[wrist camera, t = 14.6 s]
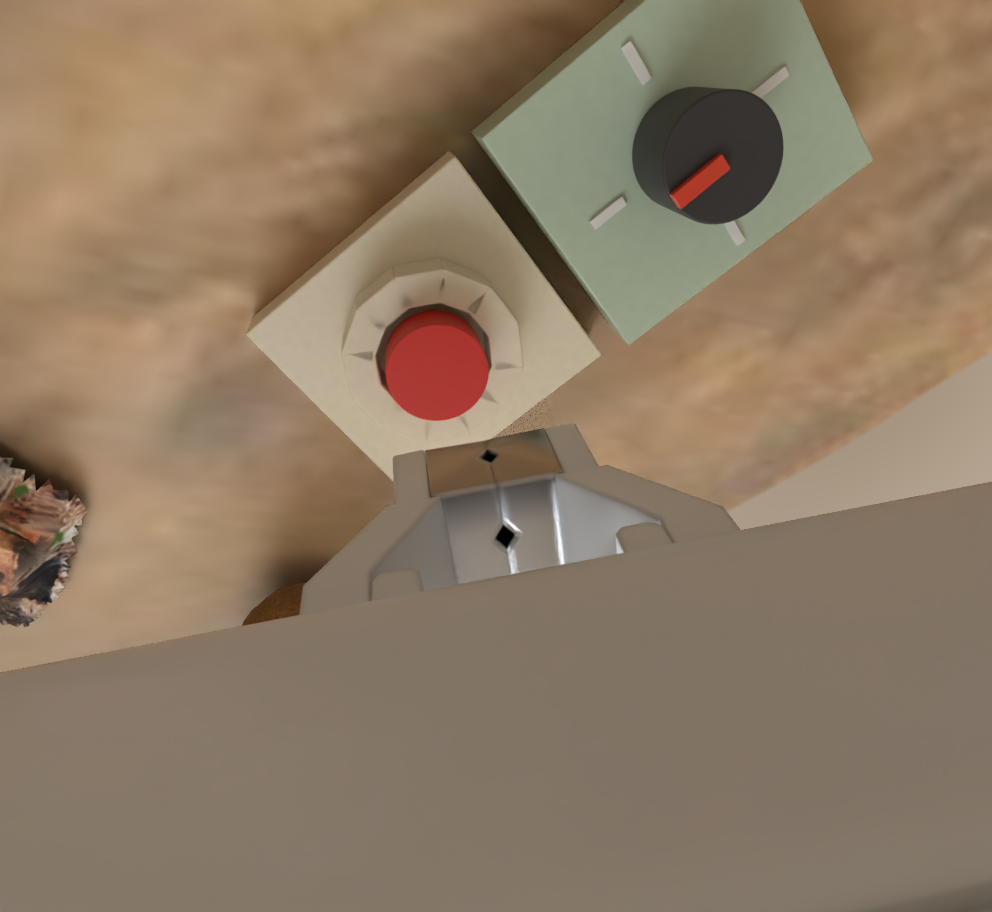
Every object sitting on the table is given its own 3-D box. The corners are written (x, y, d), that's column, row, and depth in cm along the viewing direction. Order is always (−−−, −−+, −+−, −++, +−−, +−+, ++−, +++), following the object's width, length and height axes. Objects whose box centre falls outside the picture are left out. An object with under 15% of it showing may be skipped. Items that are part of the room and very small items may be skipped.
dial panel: (718, -80, 27) (759, -97, 24) (830, 152, 31) (876, 160, 28) (470, 131, 29) (481, 138, 26) (607, 323, 33) (630, 347, 30)
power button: (440, 289, 27) (445, 302, 26) (501, 362, 29) (509, 379, 27) (363, 351, 28) (363, 368, 26) (427, 420, 29) (430, 440, 28)
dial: (705, 59, 26) (751, 58, 23) (760, 158, 28) (810, 169, 24) (609, 141, 26) (641, 151, 23) (669, 232, 28) (706, 252, 25)
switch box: (449, 149, 29) (461, 161, 25) (588, 337, 33) (615, 370, 29) (252, 317, 30) (236, 350, 27) (408, 476, 35) (413, 522, 31)
